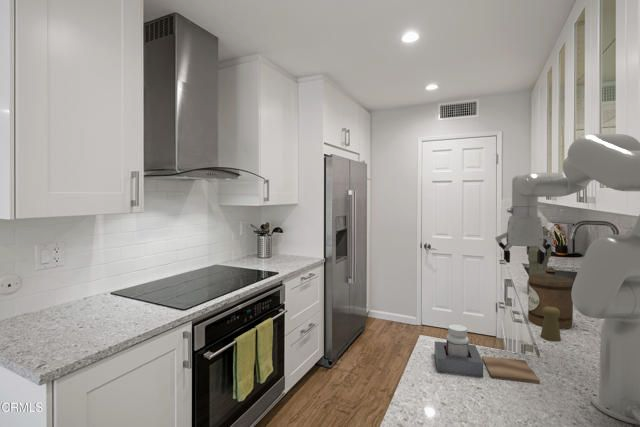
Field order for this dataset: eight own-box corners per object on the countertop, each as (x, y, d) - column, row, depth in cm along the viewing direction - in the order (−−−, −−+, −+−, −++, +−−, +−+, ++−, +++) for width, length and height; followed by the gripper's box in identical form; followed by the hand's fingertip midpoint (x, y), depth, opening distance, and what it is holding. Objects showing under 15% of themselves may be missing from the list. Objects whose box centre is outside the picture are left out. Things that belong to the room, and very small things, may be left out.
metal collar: (483, 377, 96) (483, 363, 96) (437, 371, 99) (437, 358, 99) (474, 357, 107) (475, 345, 107) (434, 353, 110) (434, 341, 110)
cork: (564, 342, 119) (565, 310, 119) (544, 340, 120) (545, 309, 120) (556, 335, 125) (556, 305, 124) (537, 334, 126) (538, 304, 126)
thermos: (545, 299, 170) (547, 228, 168) (520, 293, 180) (522, 226, 178) (554, 296, 174) (556, 227, 173) (530, 291, 184) (532, 225, 183)
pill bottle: (451, 357, 107) (451, 322, 107) (471, 364, 103) (472, 327, 103) (442, 364, 103) (443, 327, 102) (463, 372, 99) (464, 333, 98)
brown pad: (539, 383, 92) (539, 380, 92) (491, 378, 95) (491, 375, 95) (524, 362, 104) (525, 360, 104) (481, 358, 107) (481, 356, 107)
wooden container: (529, 313, 148) (530, 263, 147) (571, 320, 140) (573, 266, 139) (526, 324, 136) (528, 269, 135) (573, 332, 128) (575, 273, 127)
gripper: (498, 212, 115) (497, 263, 115) (558, 212, 110) (557, 266, 110) (493, 211, 122) (493, 259, 122) (549, 212, 117) (548, 262, 118)
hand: (523, 262), depth 116 cm, fingers open, 9 cm apart
